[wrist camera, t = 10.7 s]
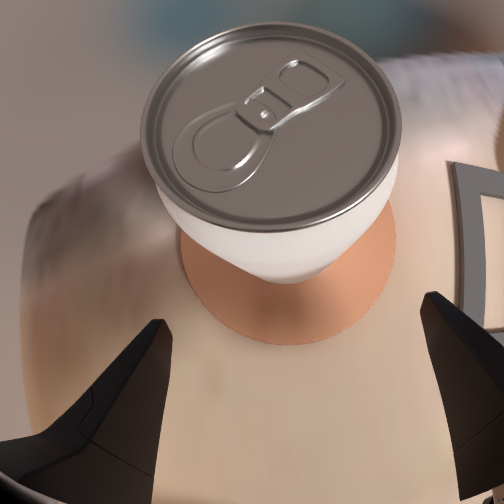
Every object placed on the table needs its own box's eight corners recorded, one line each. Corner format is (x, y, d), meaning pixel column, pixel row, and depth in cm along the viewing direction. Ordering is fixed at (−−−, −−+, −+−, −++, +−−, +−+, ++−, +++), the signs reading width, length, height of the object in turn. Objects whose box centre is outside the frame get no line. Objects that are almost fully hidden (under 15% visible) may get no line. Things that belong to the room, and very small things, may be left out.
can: (208, 228, 18) (83, 125, 6) (286, 156, 18) (267, -9, 6) (283, 308, 17) (259, 338, 5) (363, 229, 17) (467, 116, 5)
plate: (384, 345, 17) (390, 348, 15) (179, 330, 18) (171, 332, 17) (384, 148, 18) (388, 140, 17) (199, 142, 20) (194, 134, 19)
